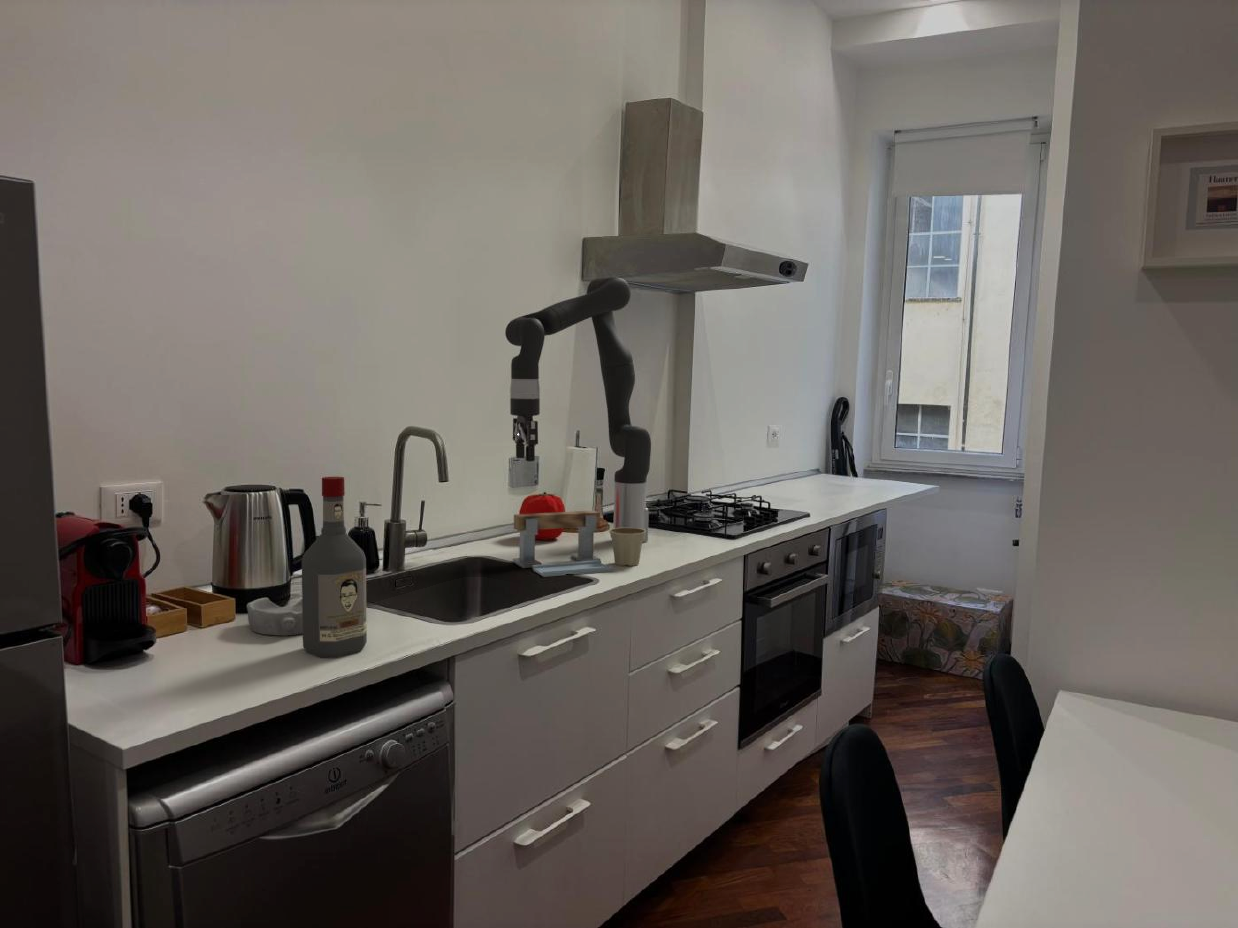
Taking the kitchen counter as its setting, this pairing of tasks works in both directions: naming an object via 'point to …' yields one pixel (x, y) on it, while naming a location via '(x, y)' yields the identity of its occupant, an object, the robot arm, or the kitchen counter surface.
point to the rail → (555, 519)
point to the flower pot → (627, 545)
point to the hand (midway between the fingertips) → (525, 459)
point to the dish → (275, 618)
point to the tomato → (543, 505)
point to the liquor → (334, 583)
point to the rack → (584, 554)
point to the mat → (571, 568)
